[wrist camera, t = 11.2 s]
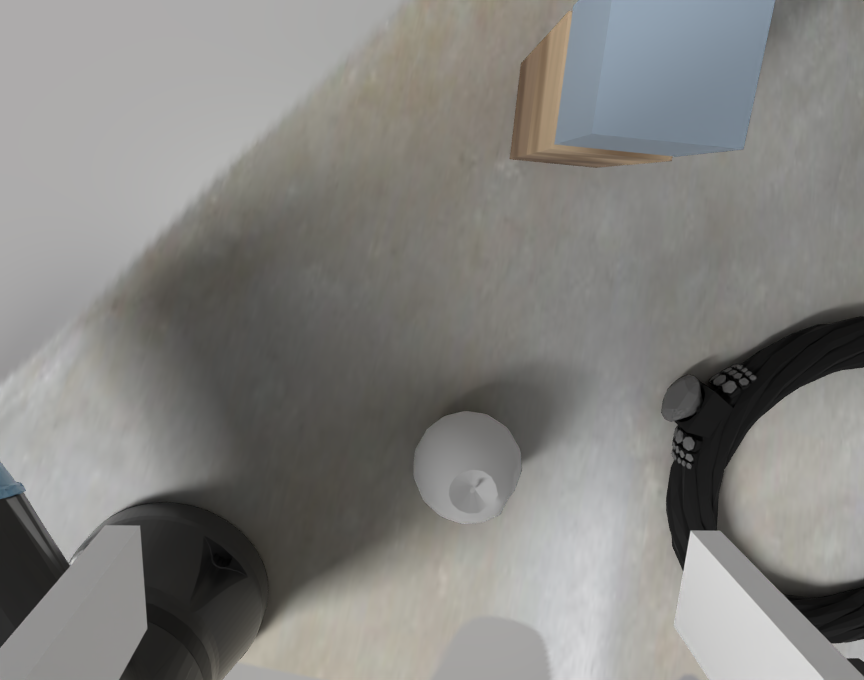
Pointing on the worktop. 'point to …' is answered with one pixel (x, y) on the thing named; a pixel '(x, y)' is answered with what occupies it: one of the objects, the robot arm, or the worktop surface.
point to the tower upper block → (549, 102)
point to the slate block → (662, 75)
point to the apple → (467, 467)
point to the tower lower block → (524, 117)
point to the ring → (725, 429)
